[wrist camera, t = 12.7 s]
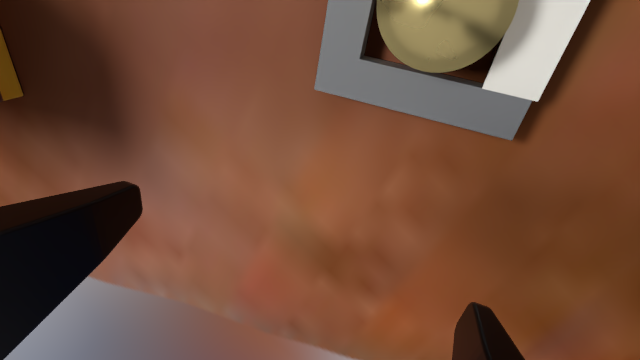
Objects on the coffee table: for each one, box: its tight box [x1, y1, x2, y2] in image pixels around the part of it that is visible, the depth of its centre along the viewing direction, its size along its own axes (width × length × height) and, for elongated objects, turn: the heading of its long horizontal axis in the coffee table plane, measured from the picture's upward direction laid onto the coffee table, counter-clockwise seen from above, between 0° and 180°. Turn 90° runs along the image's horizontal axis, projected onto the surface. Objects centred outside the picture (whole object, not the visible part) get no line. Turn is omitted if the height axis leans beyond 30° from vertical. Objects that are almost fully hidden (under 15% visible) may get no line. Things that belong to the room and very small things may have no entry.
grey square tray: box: [314, 0, 590, 141], centre depth 15 cm, size 10×10×1 cm
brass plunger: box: [376, 0, 519, 73], centre depth 14 cm, size 5×5×2 cm
